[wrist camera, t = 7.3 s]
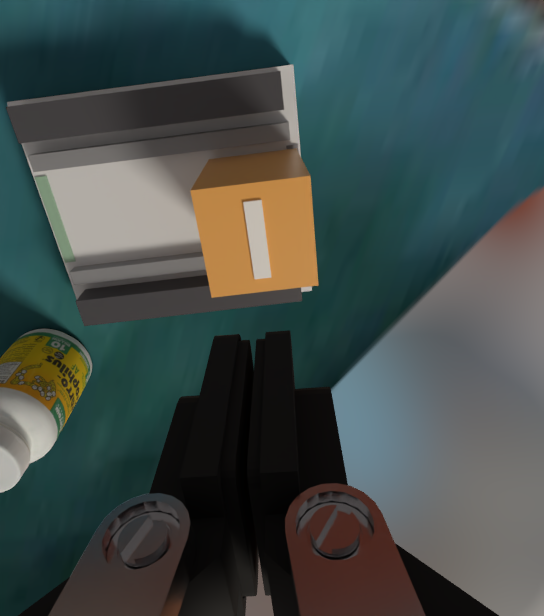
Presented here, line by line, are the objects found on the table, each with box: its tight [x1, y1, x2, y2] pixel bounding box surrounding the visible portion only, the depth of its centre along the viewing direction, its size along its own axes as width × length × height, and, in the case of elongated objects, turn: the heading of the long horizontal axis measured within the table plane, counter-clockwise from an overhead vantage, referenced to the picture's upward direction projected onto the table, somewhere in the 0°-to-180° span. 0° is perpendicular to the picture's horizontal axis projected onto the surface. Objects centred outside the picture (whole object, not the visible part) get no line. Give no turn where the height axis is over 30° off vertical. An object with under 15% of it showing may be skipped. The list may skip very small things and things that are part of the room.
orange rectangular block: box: [190, 148, 318, 298], centre depth 21 cm, size 4×4×7 cm
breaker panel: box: [6, 65, 312, 326], centre depth 24 cm, size 12×14×4 cm
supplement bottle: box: [0, 329, 92, 492], centre depth 27 cm, size 5×5×10 cm
